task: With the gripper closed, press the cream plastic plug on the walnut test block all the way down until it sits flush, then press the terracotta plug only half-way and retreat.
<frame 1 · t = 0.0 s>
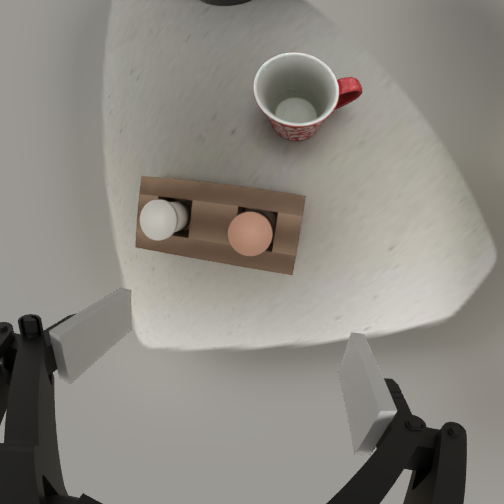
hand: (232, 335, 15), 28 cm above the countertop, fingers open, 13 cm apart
cream plug: (168, 217, 35), point 8 cm above the countertop, slide at 0.0 cm
mug: (306, 117, 38), on the countertop
walnut block: (224, 218, 43), on the countertop
terracotta plug: (253, 230, 34), point 9 cm above the countertop, slide at 0.0 cm
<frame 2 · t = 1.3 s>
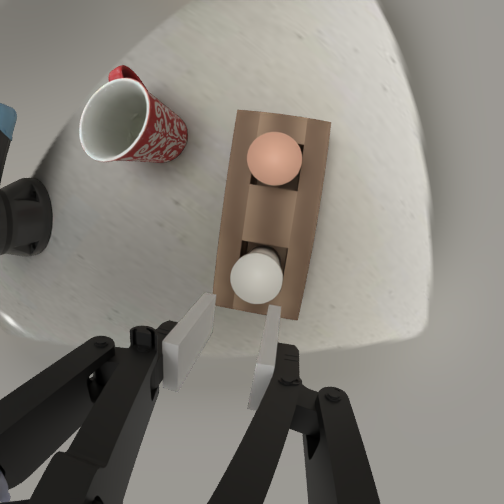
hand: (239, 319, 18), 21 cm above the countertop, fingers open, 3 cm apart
cream plug: (259, 270, 29), point 8 cm above the countertop, slide at 0.0 cm
mug: (163, 127, 36), on the countertop
walnut block: (273, 212, 36), on the countertop
terracotta plug: (276, 162, 27), point 8 cm above the countertop, slide at 0.0 cm
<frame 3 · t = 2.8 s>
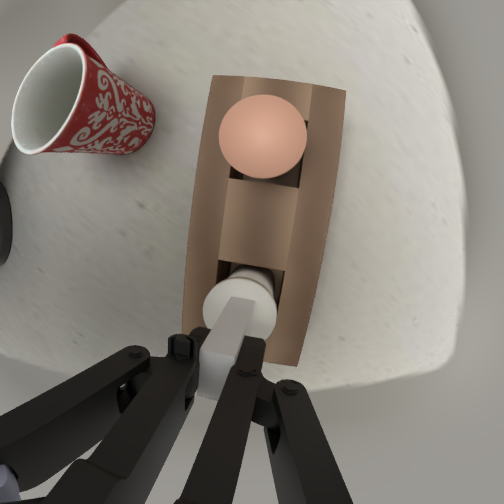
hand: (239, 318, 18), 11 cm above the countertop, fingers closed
cream plug: (246, 298, 21), point 7 cm above the countertop, slide at 1.3 cm, touching gripper
mug: (127, 110, 27), on the countertop
walnut block: (265, 217, 27), on the countertop
terracotta plug: (267, 144, 18), point 9 cm above the countertop, slide at 0.0 cm
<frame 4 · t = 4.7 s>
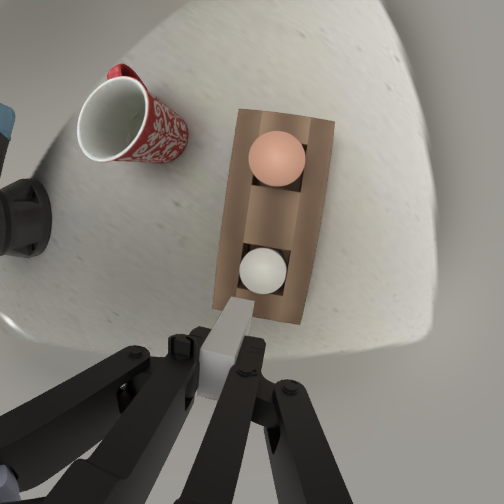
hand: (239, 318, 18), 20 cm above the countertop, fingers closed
cream plug: (265, 264, 32), point 4 cm above the countertop, slide at 4.0 cm
mug: (163, 127, 36), on the countertop
walnut block: (275, 213, 36), on the countertop
terracotta plug: (278, 162, 26), point 9 cm above the countertop, slide at 0.0 cm
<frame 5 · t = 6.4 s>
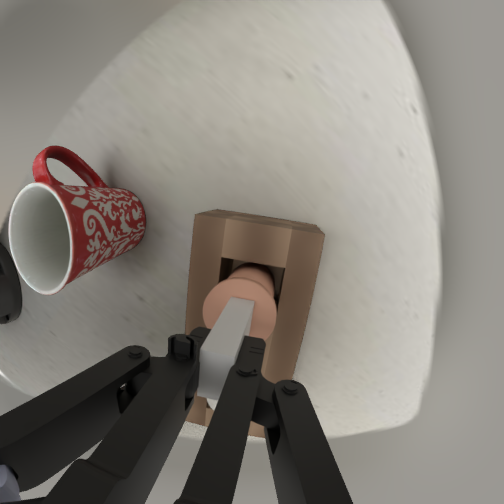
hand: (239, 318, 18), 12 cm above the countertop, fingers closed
cream plug: (237, 381, 27), point 4 cm above the countertop, slide at 4.0 cm
mug: (118, 205, 30), on the countertop
walnut block: (250, 318, 30), on the countertop
terracotta plug: (246, 298, 21), point 8 cm above the countertop, slide at 0.2 cm, touching gripper
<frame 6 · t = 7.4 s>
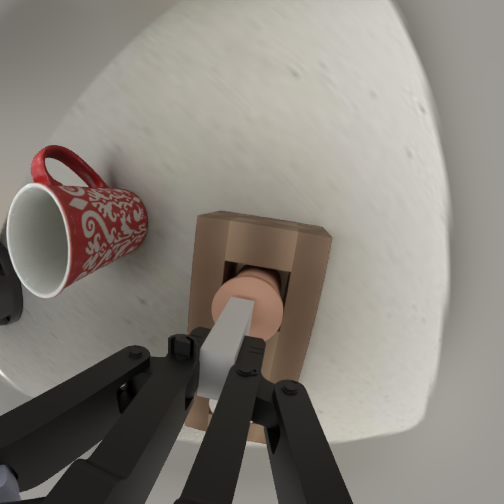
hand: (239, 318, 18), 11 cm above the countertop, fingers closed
cream plug: (240, 387, 26), point 4 cm above the countertop, slide at 4.0 cm
mug: (120, 206, 30), on the countertop
walnut block: (254, 322, 30), on the countertop
terracotta plug: (253, 296, 22), point 7 cm above the countertop, slide at 1.8 cm
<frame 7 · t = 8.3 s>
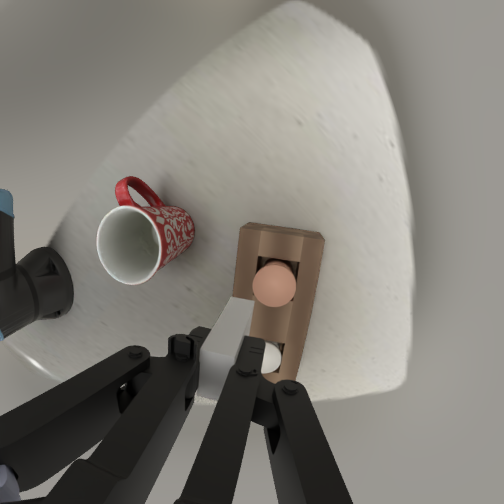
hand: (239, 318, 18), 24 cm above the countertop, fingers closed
cream plug: (265, 346, 39), point 4 cm above the countertop, slide at 4.0 cm
mug: (171, 219, 42), on the countertop
walnut block: (273, 300, 42), on the countertop
terracotta plug: (276, 278, 34), point 7 cm above the countertop, slide at 1.8 cm
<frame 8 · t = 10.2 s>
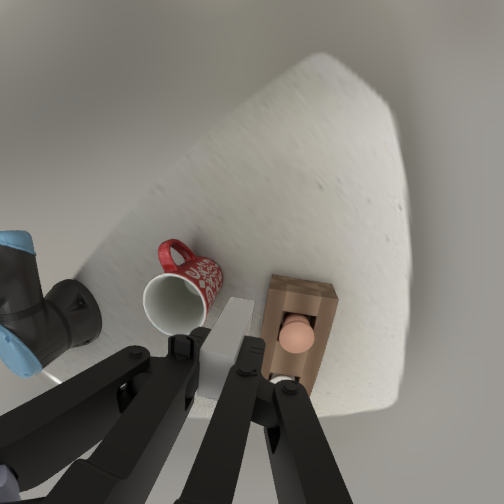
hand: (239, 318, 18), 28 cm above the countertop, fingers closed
cream plug: (282, 377, 45), point 4 cm above the countertop, slide at 4.0 cm
mug: (201, 267, 48), on the countertop
walnut block: (289, 338, 48), on the countertop
terracotta plug: (296, 328, 40), point 7 cm above the countertop, slide at 1.8 cm
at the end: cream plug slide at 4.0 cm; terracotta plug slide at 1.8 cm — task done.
